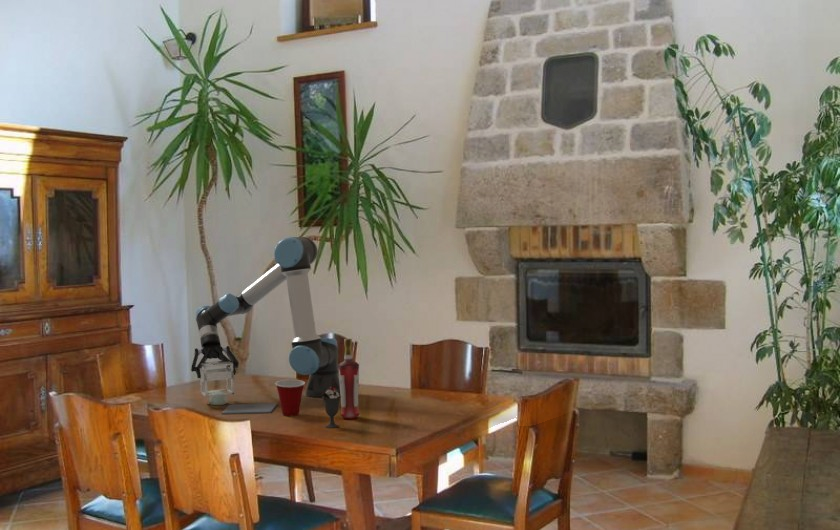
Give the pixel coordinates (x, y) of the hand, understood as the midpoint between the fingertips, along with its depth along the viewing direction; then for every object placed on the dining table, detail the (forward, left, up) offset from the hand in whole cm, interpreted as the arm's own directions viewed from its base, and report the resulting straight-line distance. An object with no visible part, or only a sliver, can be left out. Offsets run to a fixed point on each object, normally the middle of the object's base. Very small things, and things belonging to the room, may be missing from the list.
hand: (218, 382), depth 352 cm
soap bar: (+1, -3, -9) cm, 9 cm away
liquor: (-53, +32, -9) cm, 63 cm away
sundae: (-48, +46, -9) cm, 67 cm away
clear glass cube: (+1, -3, -5) cm, 5 cm away
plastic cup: (-31, +23, -9) cm, 40 cm away
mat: (-14, +11, -9) cm, 20 cm away
